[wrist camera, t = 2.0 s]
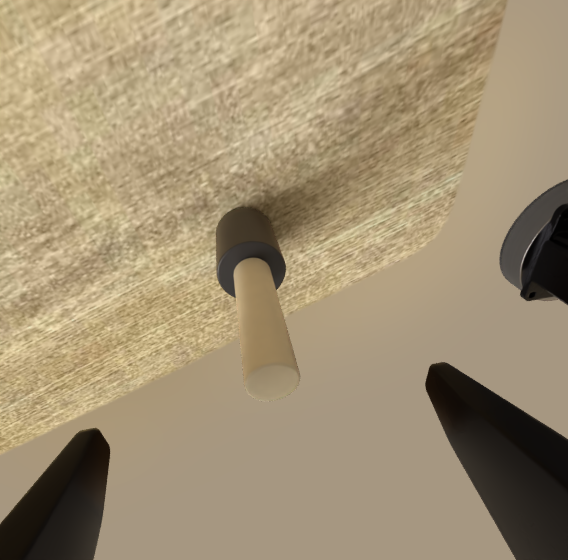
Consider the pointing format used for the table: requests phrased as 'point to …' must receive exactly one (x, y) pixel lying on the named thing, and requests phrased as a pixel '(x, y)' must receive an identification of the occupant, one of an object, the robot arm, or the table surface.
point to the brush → (257, 301)
